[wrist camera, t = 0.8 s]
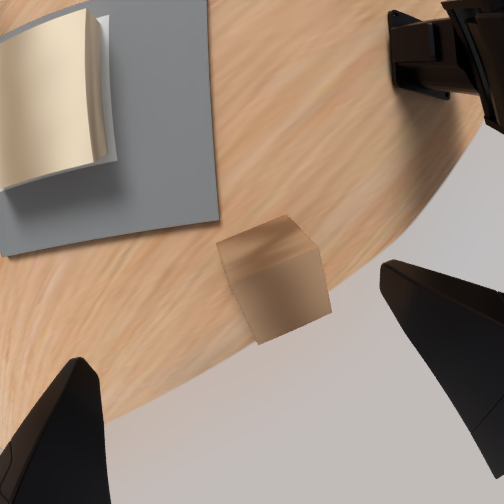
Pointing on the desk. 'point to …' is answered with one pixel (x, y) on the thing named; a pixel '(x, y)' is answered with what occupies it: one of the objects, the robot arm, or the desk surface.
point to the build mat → (130, 135)
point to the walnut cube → (275, 277)
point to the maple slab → (51, 98)
